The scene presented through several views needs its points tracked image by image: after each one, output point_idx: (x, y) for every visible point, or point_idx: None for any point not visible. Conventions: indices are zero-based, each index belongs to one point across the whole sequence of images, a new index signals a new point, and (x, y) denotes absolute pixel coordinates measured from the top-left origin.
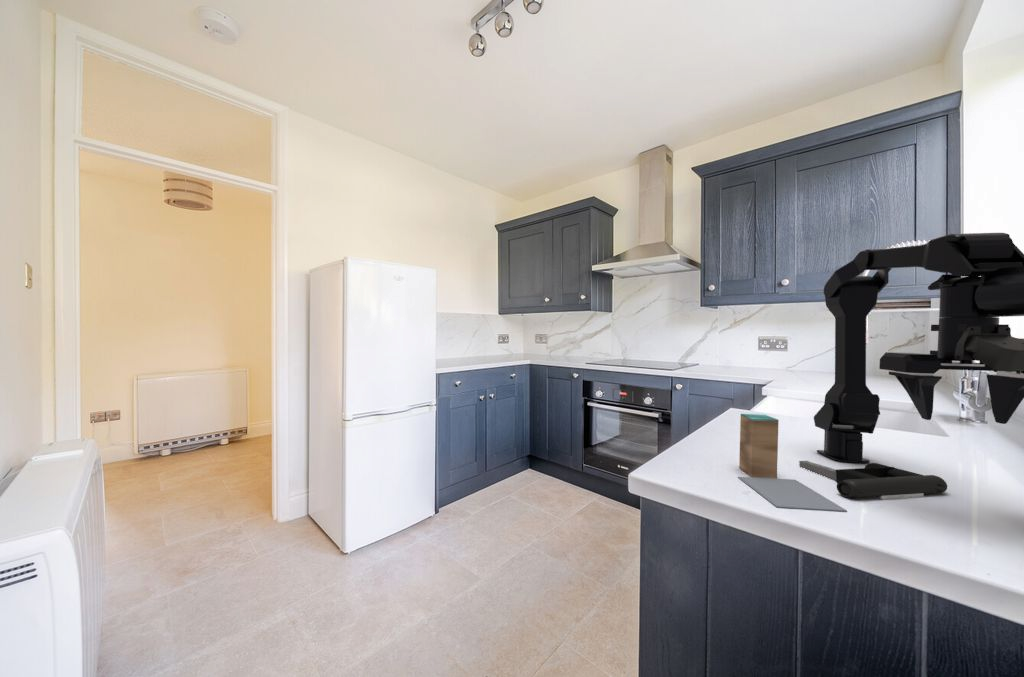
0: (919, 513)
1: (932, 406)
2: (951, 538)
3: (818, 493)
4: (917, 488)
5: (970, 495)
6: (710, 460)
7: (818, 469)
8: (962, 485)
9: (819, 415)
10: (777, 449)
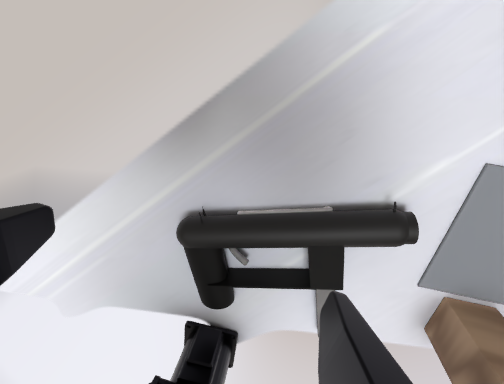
0: (331, 152)
1: (359, 354)
2: (401, 52)
3: (449, 233)
4: (251, 217)
5: (150, 208)
6: None
7: None
8: (123, 239)
9: None
10: (483, 354)
